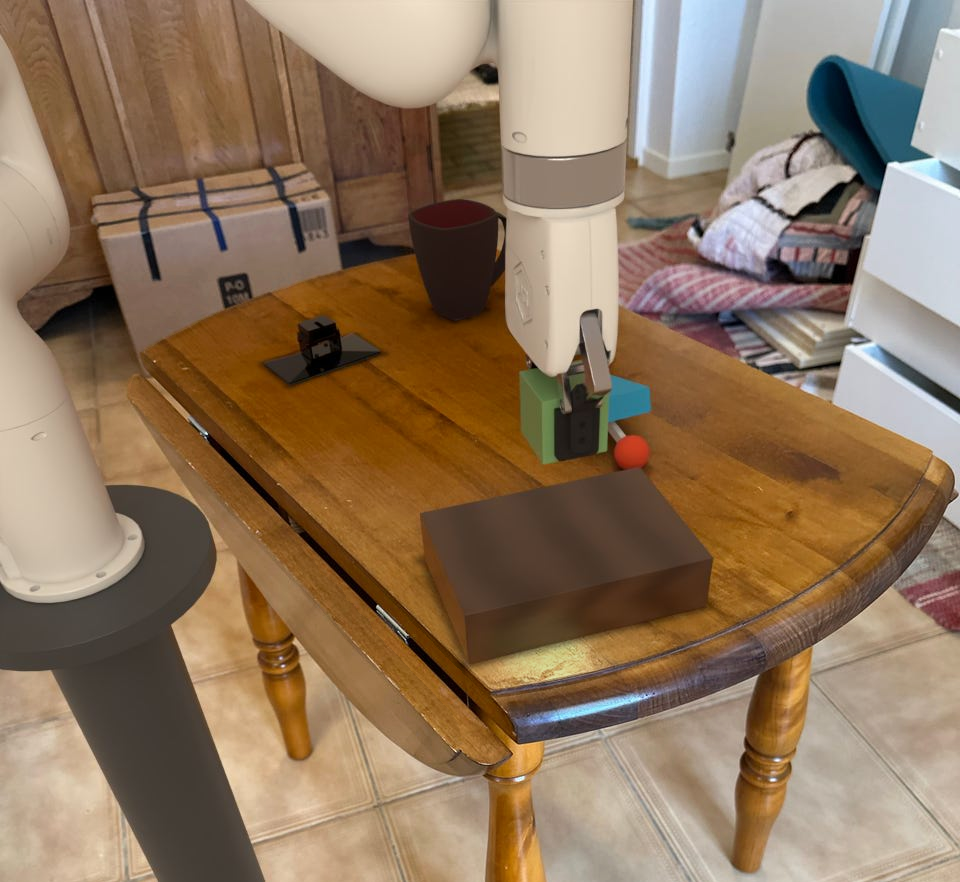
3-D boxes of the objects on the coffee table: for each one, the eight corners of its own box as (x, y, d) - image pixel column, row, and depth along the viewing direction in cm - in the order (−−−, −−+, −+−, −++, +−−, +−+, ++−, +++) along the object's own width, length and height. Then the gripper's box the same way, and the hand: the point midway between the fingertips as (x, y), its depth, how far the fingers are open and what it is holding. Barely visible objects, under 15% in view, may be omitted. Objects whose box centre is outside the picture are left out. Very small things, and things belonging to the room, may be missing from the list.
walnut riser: (468, 664, 71) (464, 615, 68) (424, 560, 81) (419, 512, 78) (706, 607, 75) (713, 557, 71) (636, 513, 85) (639, 466, 81)
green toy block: (542, 465, 67) (541, 402, 63) (520, 432, 70) (519, 371, 67) (607, 451, 68) (609, 388, 64) (582, 420, 71) (583, 358, 68)
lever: (536, 443, 103) (609, 482, 88) (528, 380, 100) (602, 409, 85) (592, 429, 105) (673, 465, 89) (586, 366, 102) (669, 393, 86)
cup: (406, 309, 121) (396, 213, 113) (491, 281, 127) (487, 187, 119) (449, 333, 115) (441, 233, 107) (536, 302, 121) (535, 205, 113)
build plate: (290, 386, 107) (281, 348, 104) (262, 365, 112) (254, 328, 109) (381, 353, 112) (376, 316, 109) (352, 334, 117) (346, 298, 113)
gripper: (466, 147, 62) (481, 395, 74) (553, 226, 50) (554, 508, 62) (571, 131, 63) (569, 378, 76) (681, 205, 51) (657, 485, 63)
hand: (562, 434), depth 69 cm, fingers closed on green toy block, 5 cm apart
